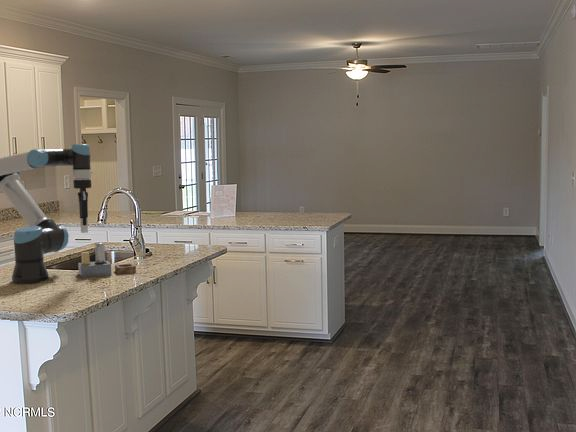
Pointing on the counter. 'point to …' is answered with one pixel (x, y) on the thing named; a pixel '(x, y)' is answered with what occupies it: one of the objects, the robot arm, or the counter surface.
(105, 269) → the chuck block
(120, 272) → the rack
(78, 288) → the counter surface
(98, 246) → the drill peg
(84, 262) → the tan rectangular block
